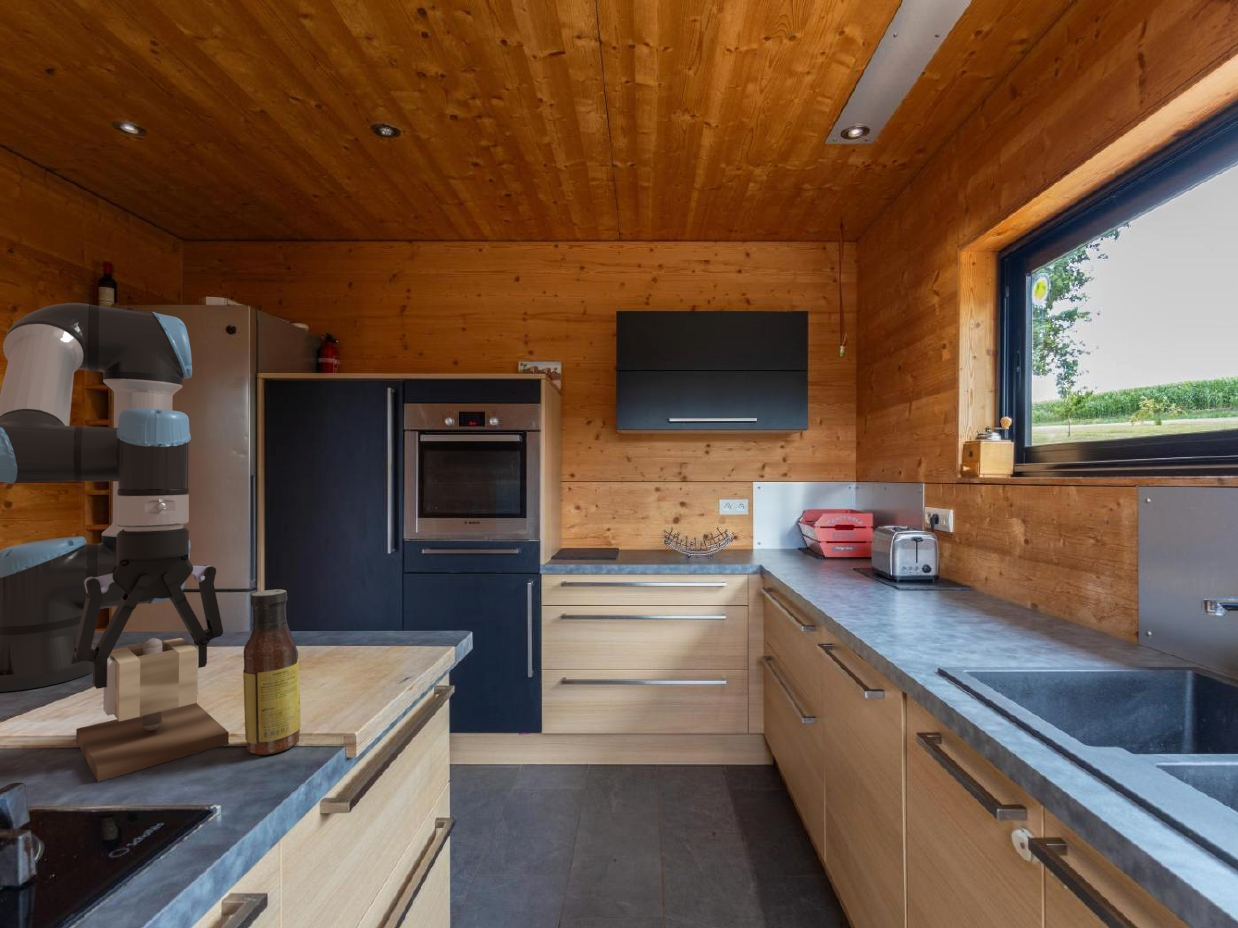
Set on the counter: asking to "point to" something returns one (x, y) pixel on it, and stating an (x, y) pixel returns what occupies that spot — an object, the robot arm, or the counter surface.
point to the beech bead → (154, 679)
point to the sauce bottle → (271, 678)
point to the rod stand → (148, 736)
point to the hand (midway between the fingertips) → (152, 701)
